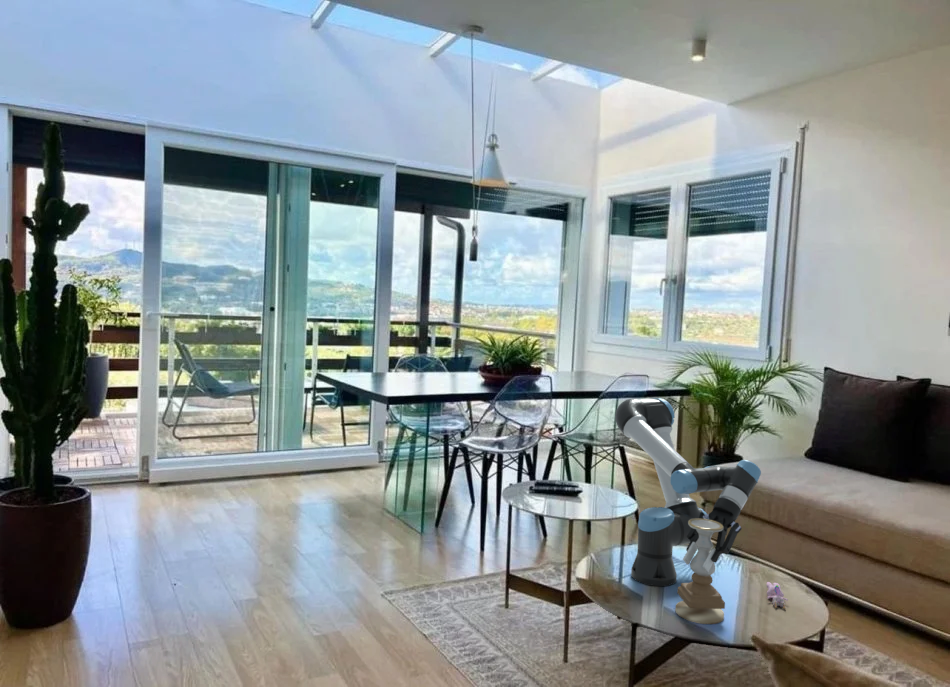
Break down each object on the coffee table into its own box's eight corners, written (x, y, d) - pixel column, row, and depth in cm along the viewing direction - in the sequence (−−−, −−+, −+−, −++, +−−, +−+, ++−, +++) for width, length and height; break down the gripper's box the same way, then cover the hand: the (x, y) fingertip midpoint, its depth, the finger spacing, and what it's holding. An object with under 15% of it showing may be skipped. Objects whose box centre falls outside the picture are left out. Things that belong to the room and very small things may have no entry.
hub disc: (666, 612, 206) (667, 609, 206) (688, 599, 216) (688, 596, 216) (711, 628, 196) (711, 624, 196) (731, 614, 206) (731, 610, 206)
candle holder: (711, 592, 211) (716, 518, 210) (725, 609, 200) (731, 530, 199) (676, 592, 211) (681, 517, 209) (689, 608, 200) (694, 529, 198)
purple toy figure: (790, 614, 210) (781, 588, 225) (791, 597, 209) (782, 572, 223) (768, 612, 212) (761, 586, 226) (770, 594, 211) (762, 570, 225)
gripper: (762, 519, 205) (728, 583, 197) (708, 503, 221) (674, 562, 212) (753, 504, 202) (718, 568, 193) (698, 489, 218) (663, 549, 209)
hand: (695, 565), depth 203 cm, fingers closed on candle holder, 6 cm apart
